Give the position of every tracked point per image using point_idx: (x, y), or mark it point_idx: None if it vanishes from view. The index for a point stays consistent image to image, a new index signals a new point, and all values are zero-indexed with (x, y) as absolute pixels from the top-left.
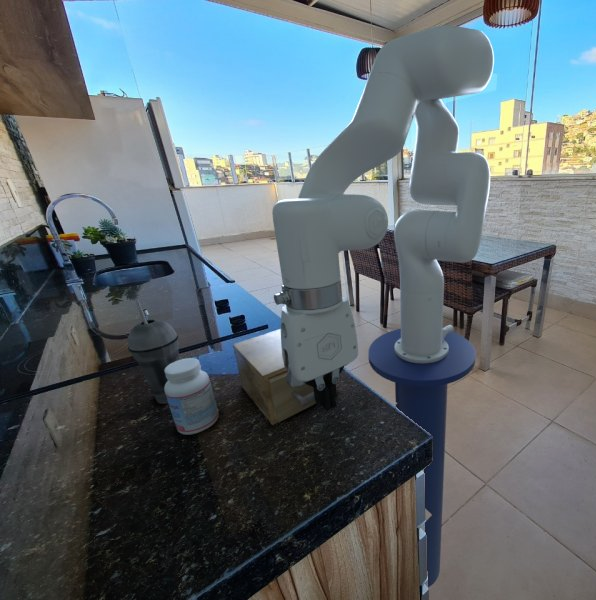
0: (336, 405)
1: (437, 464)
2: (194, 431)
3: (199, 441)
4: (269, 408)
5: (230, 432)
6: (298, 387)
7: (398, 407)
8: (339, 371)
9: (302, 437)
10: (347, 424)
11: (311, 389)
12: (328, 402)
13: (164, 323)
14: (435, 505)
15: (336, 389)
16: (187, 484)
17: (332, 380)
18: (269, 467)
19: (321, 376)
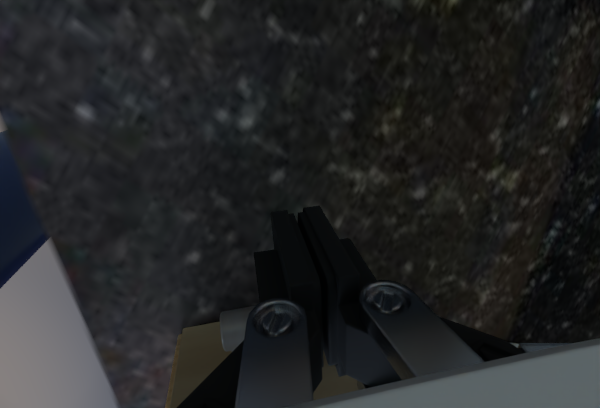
0: (271, 212)
1: (4, 134)
2: (517, 346)
3: (513, 319)
4: None
5: (464, 315)
6: (343, 378)
7: (3, 260)
8: (222, 383)
9: (354, 212)
10: (215, 183)
11: None
12: (321, 224)
13: None
14: None
15: (184, 338)
16: (581, 221)
17: (304, 320)
18: (463, 162)
19: (419, 367)
